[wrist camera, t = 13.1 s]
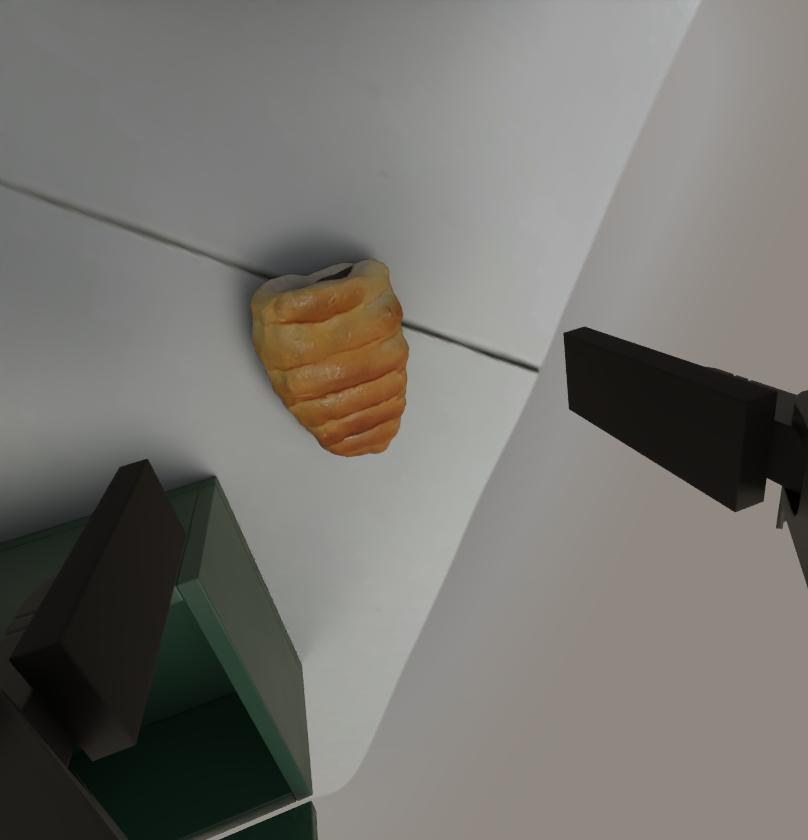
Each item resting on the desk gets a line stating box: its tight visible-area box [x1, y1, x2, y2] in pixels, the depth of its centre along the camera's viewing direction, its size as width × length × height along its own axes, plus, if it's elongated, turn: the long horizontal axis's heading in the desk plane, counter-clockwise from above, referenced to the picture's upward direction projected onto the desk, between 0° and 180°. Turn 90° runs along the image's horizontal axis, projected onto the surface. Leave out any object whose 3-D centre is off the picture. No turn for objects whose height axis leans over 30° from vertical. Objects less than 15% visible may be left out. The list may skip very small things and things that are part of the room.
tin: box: [0, 477, 313, 840], centre depth 23 cm, size 15×15×8 cm
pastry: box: [251, 259, 409, 457], centre depth 22 cm, size 9×7×4 cm
